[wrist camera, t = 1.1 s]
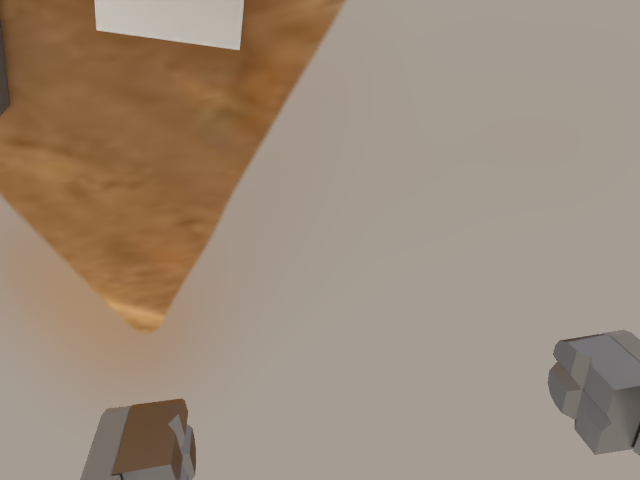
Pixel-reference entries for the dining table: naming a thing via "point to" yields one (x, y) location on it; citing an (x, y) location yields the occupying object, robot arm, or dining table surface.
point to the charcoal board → (3, 80)
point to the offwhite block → (174, 20)
